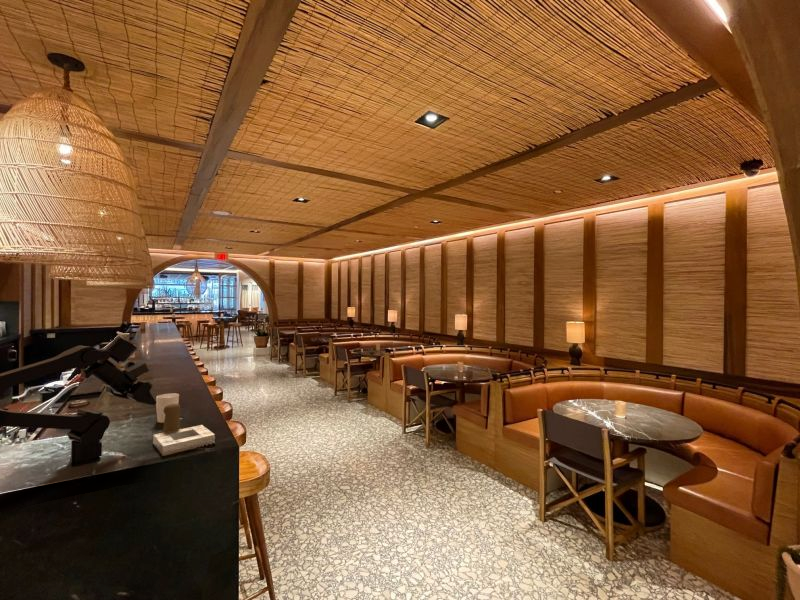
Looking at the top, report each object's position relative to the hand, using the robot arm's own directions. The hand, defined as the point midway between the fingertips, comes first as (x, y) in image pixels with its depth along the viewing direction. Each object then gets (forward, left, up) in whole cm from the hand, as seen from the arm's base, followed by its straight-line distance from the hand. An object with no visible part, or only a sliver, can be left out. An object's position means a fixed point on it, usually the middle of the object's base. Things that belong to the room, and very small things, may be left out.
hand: (148, 402), depth 123 cm
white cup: (+11, +23, -14) cm, 29 cm away
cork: (+8, +2, -14) cm, 16 cm away
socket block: (+9, -10, -14) cm, 19 cm away
